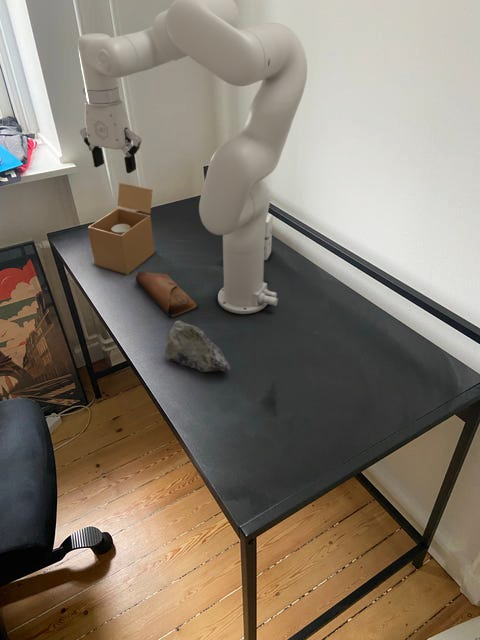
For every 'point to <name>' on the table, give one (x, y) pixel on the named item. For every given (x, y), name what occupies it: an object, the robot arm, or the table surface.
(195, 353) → the mineral rock
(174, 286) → the sunglasses case
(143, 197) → the flap
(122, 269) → the carton
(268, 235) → the ink box
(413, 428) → the table surface
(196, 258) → the table surface
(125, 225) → the tea tin
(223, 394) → the table surface
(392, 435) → the table surface
